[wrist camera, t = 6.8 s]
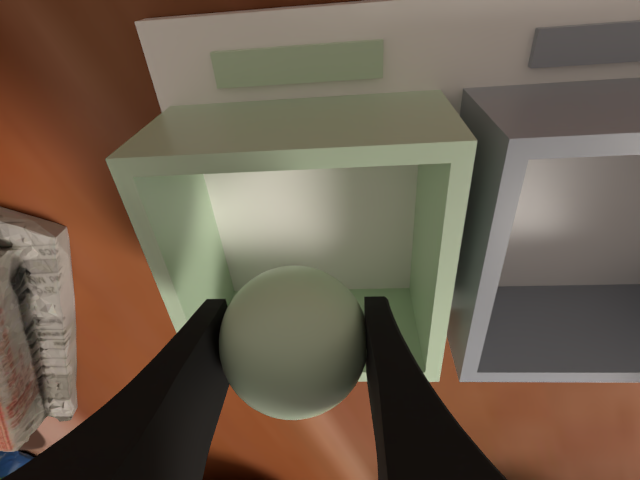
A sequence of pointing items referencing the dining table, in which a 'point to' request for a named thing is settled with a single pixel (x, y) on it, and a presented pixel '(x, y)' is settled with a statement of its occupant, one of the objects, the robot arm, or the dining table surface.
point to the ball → (293, 342)
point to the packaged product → (35, 326)
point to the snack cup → (12, 461)
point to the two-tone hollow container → (407, 171)
